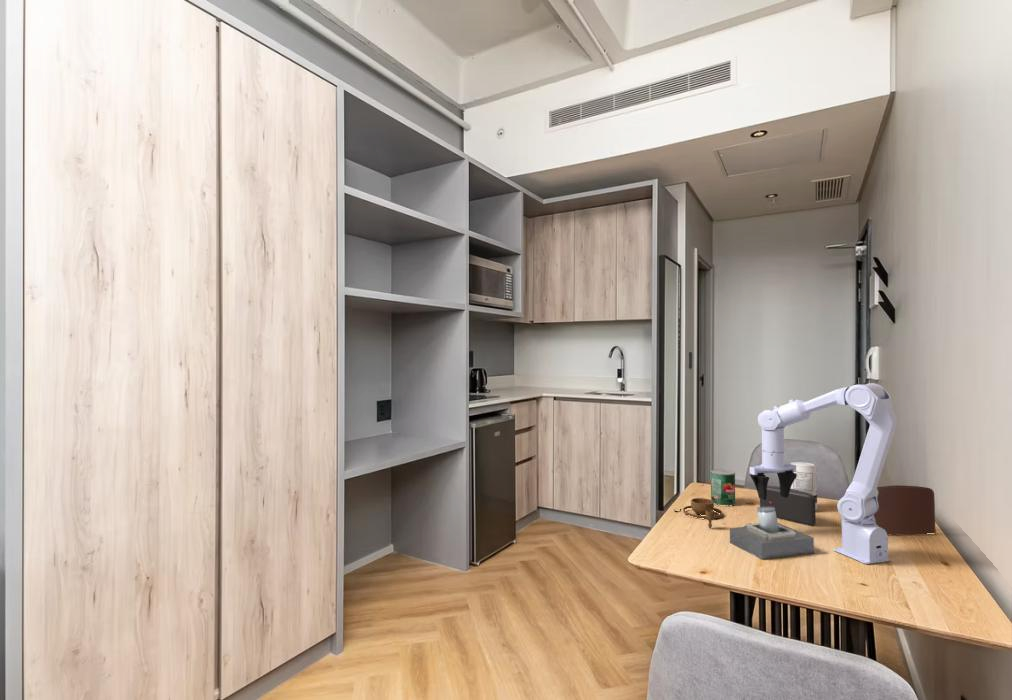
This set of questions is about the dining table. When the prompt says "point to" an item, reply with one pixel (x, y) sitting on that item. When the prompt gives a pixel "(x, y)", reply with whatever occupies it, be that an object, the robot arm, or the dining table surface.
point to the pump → (768, 519)
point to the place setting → (703, 509)
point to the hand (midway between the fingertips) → (773, 497)
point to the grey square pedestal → (771, 541)
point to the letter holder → (905, 510)
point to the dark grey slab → (791, 505)
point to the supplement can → (806, 479)
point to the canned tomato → (723, 487)
